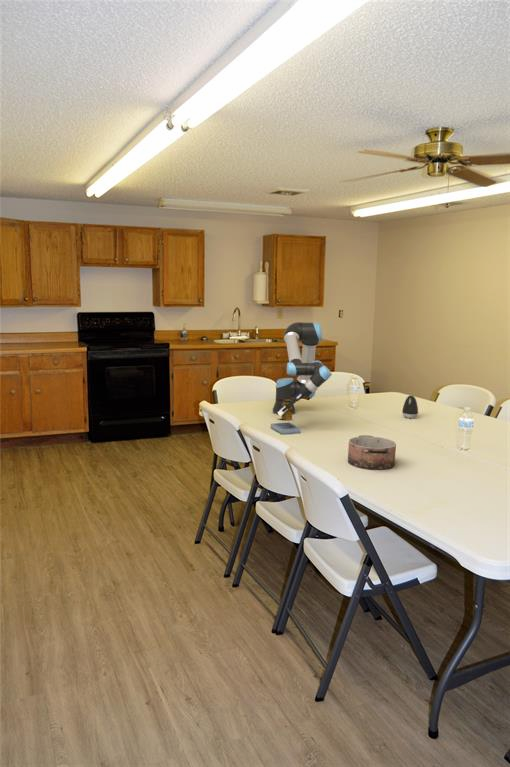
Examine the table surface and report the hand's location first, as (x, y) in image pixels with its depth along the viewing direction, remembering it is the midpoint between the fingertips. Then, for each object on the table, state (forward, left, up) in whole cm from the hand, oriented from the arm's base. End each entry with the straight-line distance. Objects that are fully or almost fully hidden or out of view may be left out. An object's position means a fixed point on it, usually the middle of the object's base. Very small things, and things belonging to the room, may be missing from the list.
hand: (280, 413), depth 341 cm
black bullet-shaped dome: (-99, -8, -11) cm, 100 cm away
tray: (-3, +2, -10) cm, 11 cm away
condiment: (-3, +2, -4) cm, 5 cm away
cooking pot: (-16, +73, -11) cm, 76 cm away
